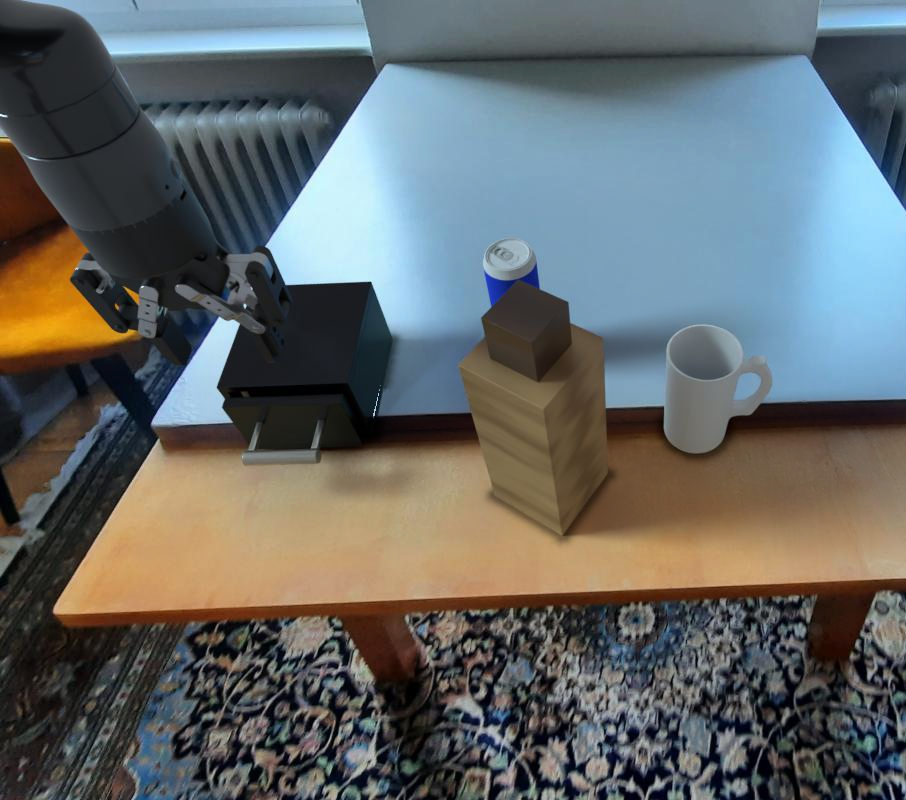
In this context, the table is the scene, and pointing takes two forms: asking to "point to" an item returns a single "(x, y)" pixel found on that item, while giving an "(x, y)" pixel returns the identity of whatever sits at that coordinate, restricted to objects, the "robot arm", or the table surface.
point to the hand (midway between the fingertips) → (230, 356)
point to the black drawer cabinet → (320, 349)
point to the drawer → (293, 424)
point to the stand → (542, 429)
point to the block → (527, 330)
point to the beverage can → (509, 266)
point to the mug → (707, 386)
